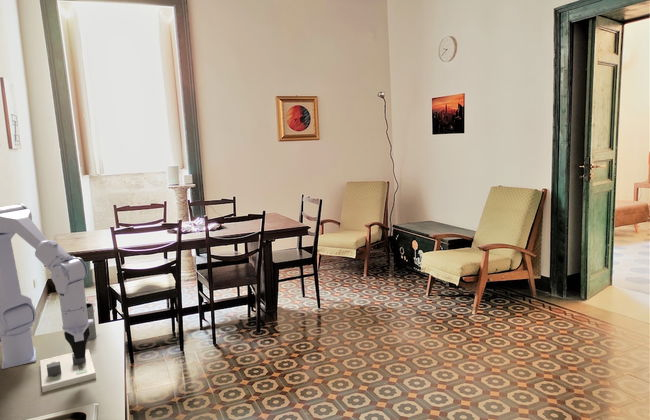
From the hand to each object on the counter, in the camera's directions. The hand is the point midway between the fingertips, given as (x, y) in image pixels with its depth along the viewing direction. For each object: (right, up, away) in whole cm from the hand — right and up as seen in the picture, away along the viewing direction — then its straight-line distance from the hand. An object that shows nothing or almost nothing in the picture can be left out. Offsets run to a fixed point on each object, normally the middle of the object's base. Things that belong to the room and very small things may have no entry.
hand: (80, 357), depth 124 cm
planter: (-10, -2, +25) cm, 27 cm away
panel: (-6, -5, +5) cm, 9 cm away
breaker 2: (-3, -3, +6) cm, 7 cm away
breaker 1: (-7, -4, 0) cm, 8 cm away
